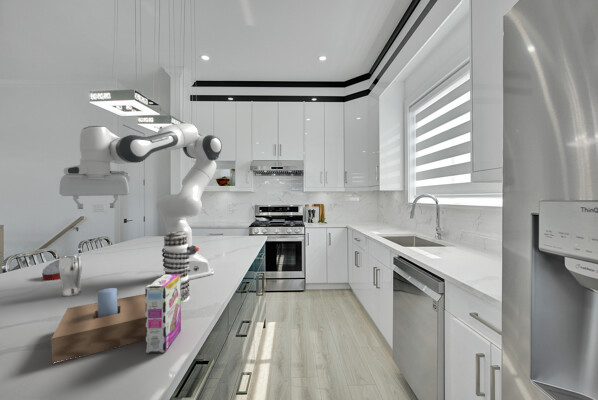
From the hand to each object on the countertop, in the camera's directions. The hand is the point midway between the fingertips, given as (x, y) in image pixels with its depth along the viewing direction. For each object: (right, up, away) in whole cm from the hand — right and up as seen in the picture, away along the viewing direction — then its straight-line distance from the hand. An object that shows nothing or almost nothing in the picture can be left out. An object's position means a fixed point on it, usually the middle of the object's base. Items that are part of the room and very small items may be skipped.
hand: (96, 208), depth 99 cm
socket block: (+20, -34, -23) cm, 46 cm away
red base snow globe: (-42, -34, +30) cm, 62 cm away
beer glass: (-16, -34, +8) cm, 39 cm away
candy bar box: (+39, -34, -28) cm, 59 cm away
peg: (+21, -34, -23) cm, 46 cm away
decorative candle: (+29, -34, 0) cm, 45 cm away
